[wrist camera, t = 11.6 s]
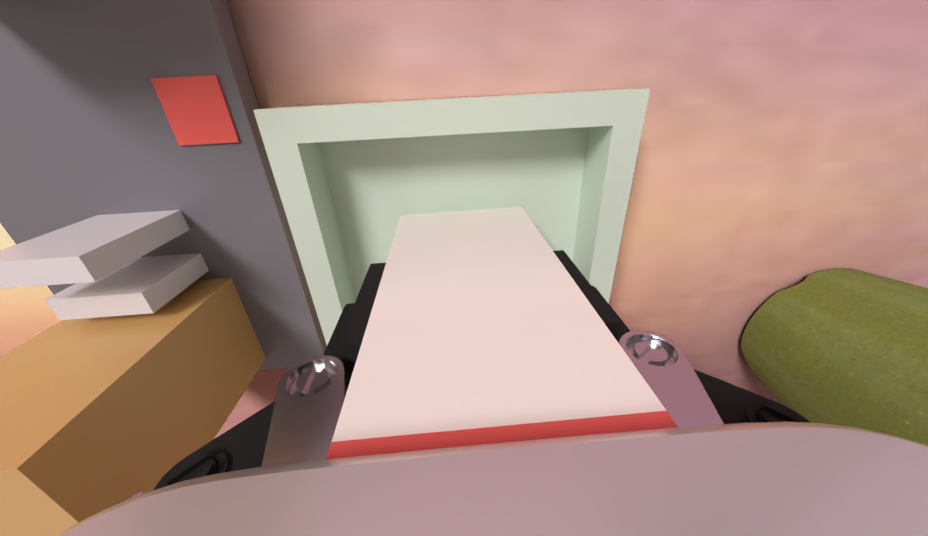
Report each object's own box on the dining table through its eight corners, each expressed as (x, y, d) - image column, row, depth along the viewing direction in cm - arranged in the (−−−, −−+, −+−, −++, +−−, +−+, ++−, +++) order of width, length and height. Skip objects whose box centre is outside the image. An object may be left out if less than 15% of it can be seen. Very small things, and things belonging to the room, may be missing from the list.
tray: (612, 89, 12) (650, 88, 10) (576, 338, 18) (595, 373, 16) (287, 106, 12) (252, 109, 10) (354, 356, 18) (342, 394, 15)
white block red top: (521, 206, 12) (721, 487, 4) (517, 305, 15) (639, 634, 6) (400, 215, 12) (304, 531, 3) (415, 313, 14) (378, 664, 6)
